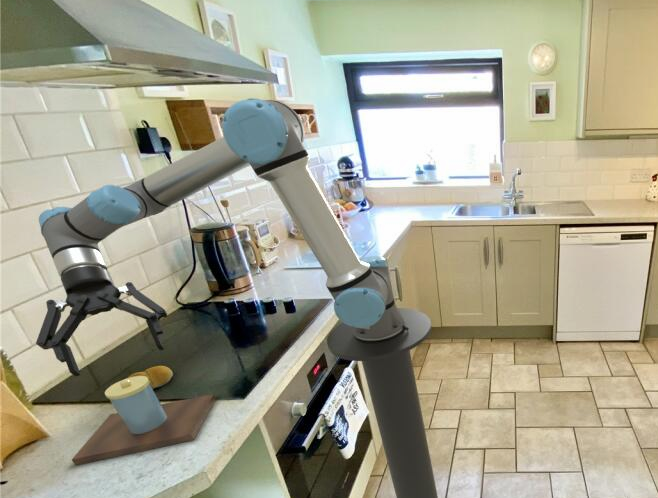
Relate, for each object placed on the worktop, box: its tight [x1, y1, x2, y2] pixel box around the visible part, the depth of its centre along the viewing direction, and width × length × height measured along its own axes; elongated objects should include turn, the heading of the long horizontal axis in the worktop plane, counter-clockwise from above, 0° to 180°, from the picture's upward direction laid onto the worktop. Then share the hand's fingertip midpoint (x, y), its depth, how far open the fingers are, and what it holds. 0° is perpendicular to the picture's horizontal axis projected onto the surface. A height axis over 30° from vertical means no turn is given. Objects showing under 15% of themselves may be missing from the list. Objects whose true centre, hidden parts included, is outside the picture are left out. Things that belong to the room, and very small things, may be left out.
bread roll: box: [127, 365, 174, 390], centre depth 103 cm, size 8×9×4 cm
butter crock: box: [104, 376, 167, 434], centre depth 85 cm, size 7×7×11 cm
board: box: [71, 393, 217, 466], centre depth 88 cm, size 20×14×2 cm
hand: (119, 360), depth 86 cm, fingers open, 13 cm apart
